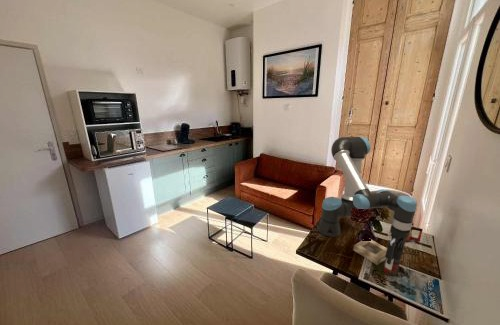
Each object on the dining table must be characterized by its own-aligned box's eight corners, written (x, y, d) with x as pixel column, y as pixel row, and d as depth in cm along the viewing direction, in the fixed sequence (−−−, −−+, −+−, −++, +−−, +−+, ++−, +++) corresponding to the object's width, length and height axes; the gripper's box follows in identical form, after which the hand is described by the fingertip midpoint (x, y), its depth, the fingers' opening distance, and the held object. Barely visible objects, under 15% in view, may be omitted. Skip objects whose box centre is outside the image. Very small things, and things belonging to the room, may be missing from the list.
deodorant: (380, 268, 109) (385, 244, 105) (389, 266, 110) (395, 242, 106) (390, 277, 103) (396, 252, 99) (399, 274, 105) (406, 250, 100)
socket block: (353, 250, 123) (354, 245, 122) (366, 242, 130) (367, 237, 129) (377, 265, 111) (378, 259, 110) (390, 255, 118) (391, 250, 117)
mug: (419, 243, 128) (424, 226, 125) (396, 242, 130) (400, 225, 126) (409, 233, 138) (413, 218, 134) (388, 232, 139) (391, 217, 136)
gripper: (400, 237, 91) (389, 278, 98) (418, 224, 101) (408, 263, 107) (382, 229, 97) (374, 268, 104) (401, 217, 107) (392, 254, 113)
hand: (391, 265), depth 106 cm, fingers closed on deodorant, 6 cm apart
